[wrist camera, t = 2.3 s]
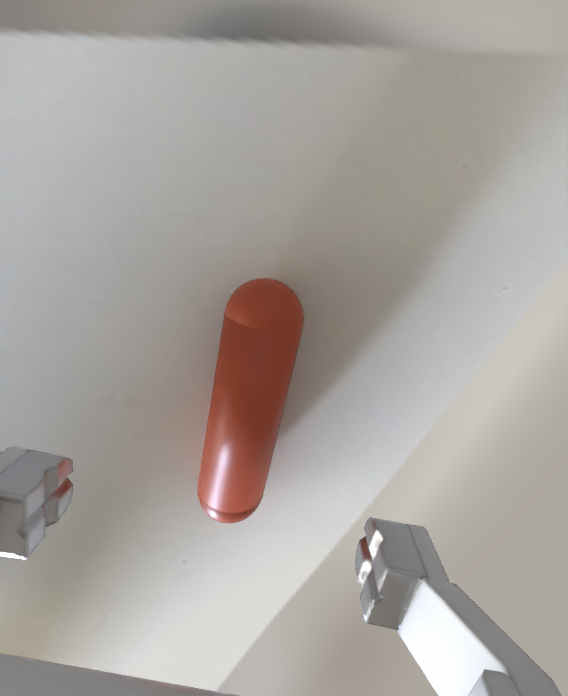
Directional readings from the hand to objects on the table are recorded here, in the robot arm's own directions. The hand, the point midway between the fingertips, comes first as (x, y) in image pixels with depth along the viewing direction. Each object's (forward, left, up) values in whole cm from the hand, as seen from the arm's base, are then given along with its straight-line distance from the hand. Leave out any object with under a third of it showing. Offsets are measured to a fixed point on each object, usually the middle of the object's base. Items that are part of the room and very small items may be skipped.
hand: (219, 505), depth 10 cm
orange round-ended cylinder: (0, 0, -6) cm, 6 cm away
